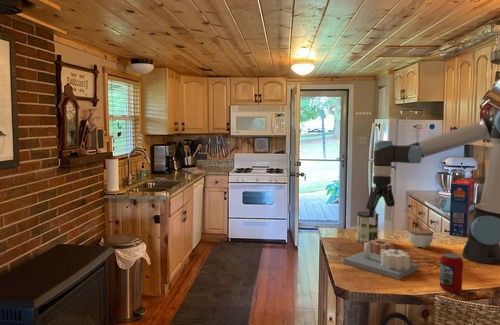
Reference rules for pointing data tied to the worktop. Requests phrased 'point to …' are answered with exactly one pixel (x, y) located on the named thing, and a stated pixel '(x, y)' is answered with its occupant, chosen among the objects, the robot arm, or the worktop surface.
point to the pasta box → (461, 206)
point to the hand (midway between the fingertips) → (380, 222)
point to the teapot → (445, 205)
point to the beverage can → (451, 272)
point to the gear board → (377, 264)
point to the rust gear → (380, 246)
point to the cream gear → (394, 259)
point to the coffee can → (366, 228)
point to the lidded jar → (420, 237)
